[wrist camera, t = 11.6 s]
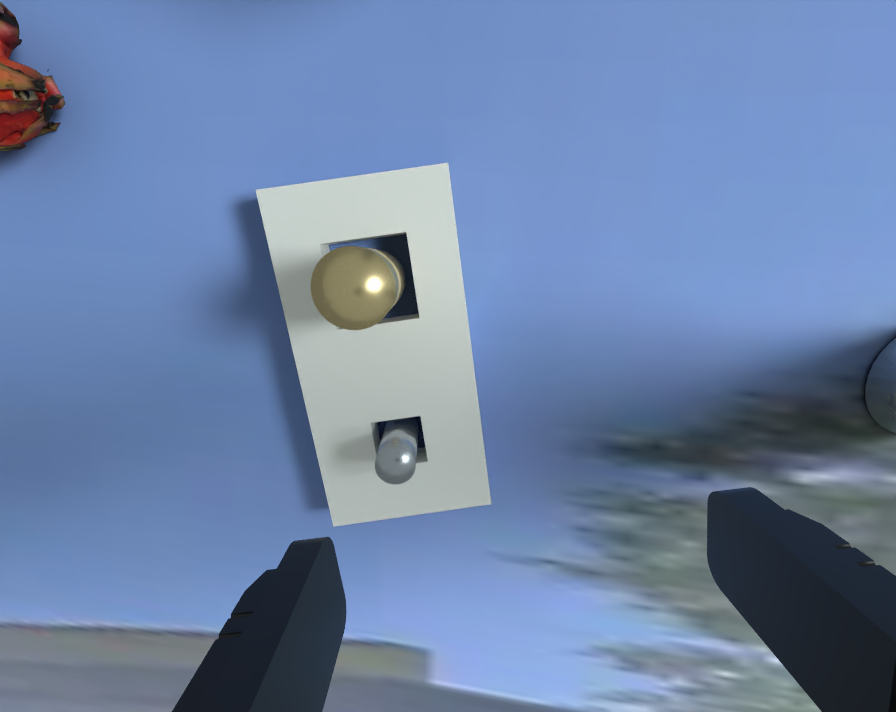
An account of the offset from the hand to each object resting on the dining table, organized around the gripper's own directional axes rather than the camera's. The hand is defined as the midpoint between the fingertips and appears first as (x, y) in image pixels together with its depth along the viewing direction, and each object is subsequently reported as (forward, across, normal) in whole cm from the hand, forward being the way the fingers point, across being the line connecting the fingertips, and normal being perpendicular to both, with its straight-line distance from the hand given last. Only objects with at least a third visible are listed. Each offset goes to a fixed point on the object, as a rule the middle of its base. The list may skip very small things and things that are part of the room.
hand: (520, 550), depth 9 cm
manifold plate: (+23, +6, 0) cm, 23 cm away
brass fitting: (+23, +6, -5) cm, 24 cm away
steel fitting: (+23, +6, +6) cm, 24 cm away
